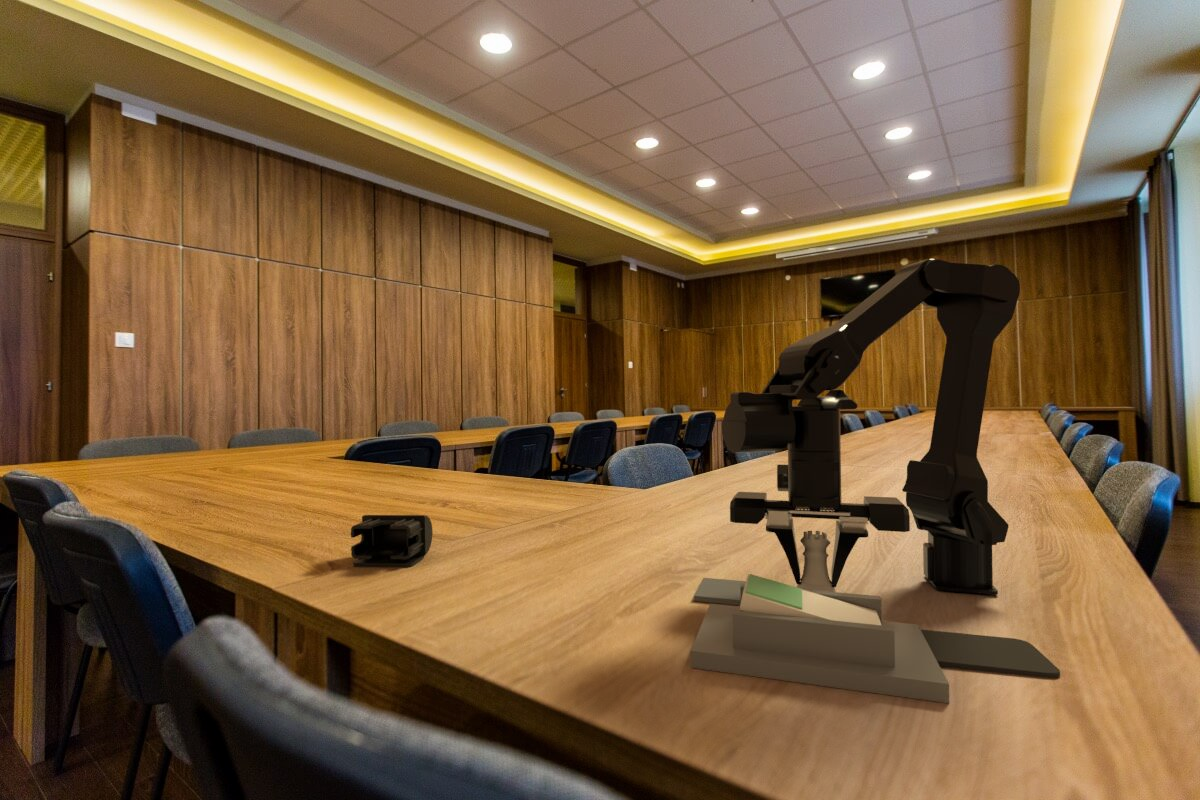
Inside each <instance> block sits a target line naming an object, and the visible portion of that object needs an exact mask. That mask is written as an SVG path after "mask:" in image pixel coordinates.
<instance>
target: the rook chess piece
mask: <svg viewBox="0 0 1200 800" xmlns="http://www.w3.org/2000/svg"><path fill="white" fill-rule="evenodd" d="M800 543H801V544H802V545H803V547H804V550H803V552H802V555H803V557H804V563H803V570H802V571H803V572H802V575H801V577H800V584H796V587H797V588H801V589H805V590H816V591H828V592H837V589H836V587H832V580H831V579H830V577H829V569H828V563H827V561H828V558H829V554H828V552H827V548H828V547H829V546H830V544H831V541H830V540H829V539H828V534H827V532H825V531H823V532H822V531H820V530H815V534H813V530H807V531H803V536H802V538H801V539H800Z"/></svg>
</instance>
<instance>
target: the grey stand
mask: <svg viewBox="0 0 1200 800" xmlns="http://www.w3.org/2000/svg"><path fill="white" fill-rule="evenodd" d="M744 587H745V584H741V587H740V590H741V599H742V594H743V591H744ZM802 590H805V589H802ZM805 591H809V592H812V593H816V594H819V595H823V596H826V597H830V598H833V599H837V600H840V601H843V602H847V603H850V604H854V605H857V606H861V607H864V608H868V609H871V610H875V611H877V614H878V617H879V619H880V622H881V625H873V624H863V623H853V622H843V621H834V620H824V619H814V618H805V617H795V616H785V615H776V614H766V613H756V612H747V611H743V610H740V605H730V604H720V603H709V605H708V608H707V611H706V612H705V615H704V617H703V620H702V623H701V624H700V627H699V630H698V632H697V635H696V637H695V639H694V642H693V644H692V647H691V649H690V668H691V669H692V668H693V669H699V670H707V671H714V672H719V673H728V674H736V675H741V676H742V675H743V676H749V677H756V678H764V679H770V680H777V681H787V682H791V683H799V684H800V683H801V684H807V685H814V686H815V685H816V686H821V687H827V688H835V689H837V688H838V689H842V690H851V691H857V692H863V693H864V692H865V693H872V694H878V695H879V694H880V695H885V696H893V697H900V698H908V699H914V700H915V699H916V700H921V701H930V702H935V703H945V704H950V683H949V681H948V680H947V678H946V676H945V673H944V672H943V670H942V667H940V666H939V664H938V662H937V660H936V658H935V656H934V655H933V653H932V651H931V649H930V647H929V645H928V643H927V641H926V639H925V637H924V636H923V634H922V632H921V630H922V629H921V628H920V627H919V624H914V623H906V622H897V621H886V620H882V619H883V618H882V615H883V614H882V611H883V610H882V598H881V596H880V595H874V594H873V595H872V594H871V595H870V594H862V593H859V594H858V593H850V592H849V593H848V592H837V591H836V592H828V591H816V590H805ZM920 629H921V630H920Z"/></svg>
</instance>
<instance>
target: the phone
mask: <svg viewBox="0 0 1200 800" xmlns="http://www.w3.org/2000/svg"><path fill="white" fill-rule="evenodd" d="M920 630H921V632H922V634H923V636H924V637H925V639H926V641H927V643H928V645H929V647H930V649H931V651H932V653H933V655H934V656H935V658H936V660H937V662H938V664H939V666H940V668H944V669H954V670H963V671H975V672H984V673H994V674H1005V675H1013V676H1014V675H1015V676H1024V677H1030V678H1031V677H1034V678H1043V679H1059V678H1060V677H1061V671H1060V669H1059V668H1058V667H1057V666H1056V665H1055V664H1054V663H1052V661H1051V660H1050V659H1048V658H1047V656H1045V655H1044V654H1043V653H1042V652H1041V651H1040V650H1039V649H1038V648H1036V646H1034V645H1033V644H1032V643H1030V642H1028V641H1026V640H1023V639H1019V638H1012V637H1003V636H1002V637H1000V636H992V635H985V634H984V635H982V634H973V633H962V632H961V633H960V632H951V631H941V630H930V629H922V628H920Z"/></svg>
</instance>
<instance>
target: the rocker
mask: <svg viewBox="0 0 1200 800" xmlns="http://www.w3.org/2000/svg"><path fill="white" fill-rule="evenodd" d="M745 581H746V583H745V587H744V591H743V594H742V599H741V604H740V605H739V607H740V610H743V611H747V612H756V613H766V614H776V615H785V616H795V617H805V618H814V619H824V620H834V621H843V622H853V623H863V624H873V625H881V622H880V619H879V617H878V614H877V611H875V610H871V609H868V608H864V607H861V606H857V605H854V604H850V603H847V602H843V601H840V600H837V599H833V598H830V597H826V596H823V595H819V594H816V593H812V592H809V591H805V590H802V589H801V588H797V586H793V585H791V584H790V585H789V584H786V583H784V582H779V581H776V580H773V579H769V578H766V577H763V576H758V575H754V574H752V573H748V574H747V576H746V580H745Z"/></svg>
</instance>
